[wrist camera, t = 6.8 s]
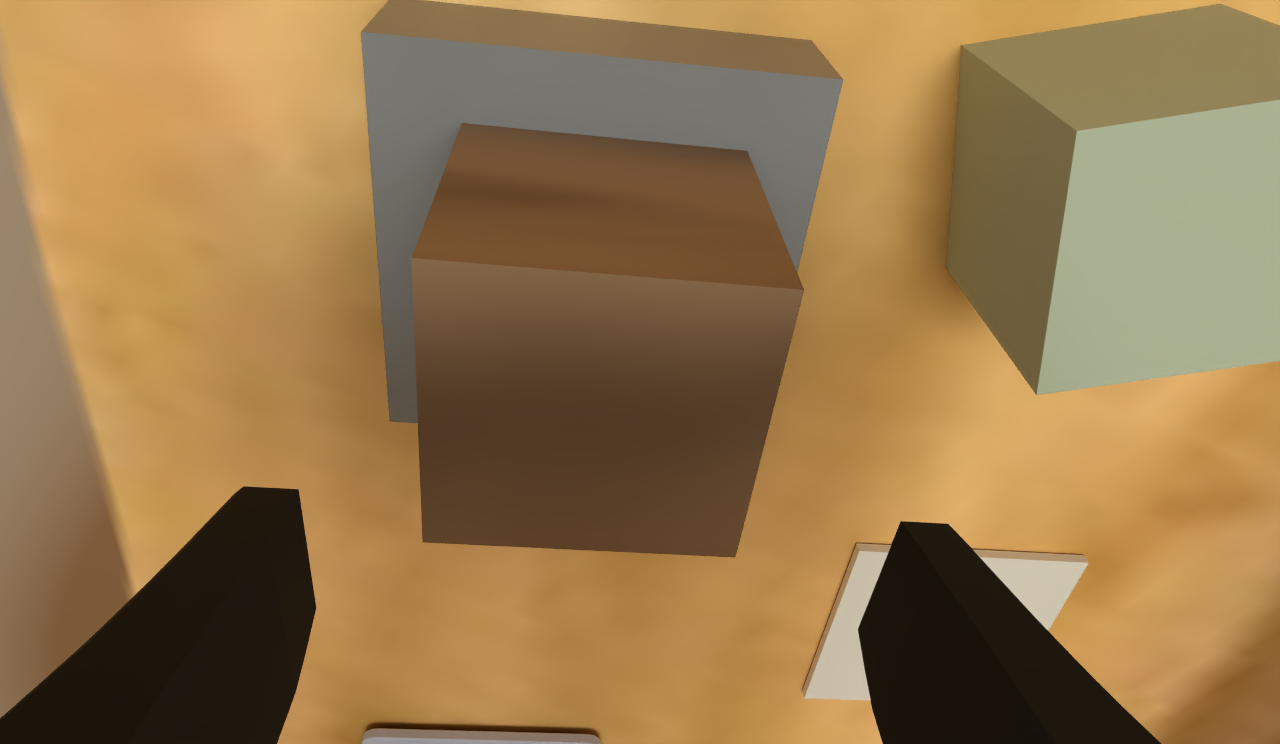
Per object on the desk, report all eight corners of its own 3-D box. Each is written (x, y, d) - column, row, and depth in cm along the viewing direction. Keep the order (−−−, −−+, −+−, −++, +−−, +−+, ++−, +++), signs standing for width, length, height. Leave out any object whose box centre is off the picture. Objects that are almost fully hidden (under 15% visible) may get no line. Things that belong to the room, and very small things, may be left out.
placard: (1000, 696, 29) (1006, 709, 29) (802, 690, 29) (805, 703, 28) (1083, 555, 26) (1092, 568, 25) (856, 543, 25) (861, 556, 24)
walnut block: (703, 379, 18) (735, 558, 14) (462, 362, 18) (422, 542, 13) (746, 150, 15) (804, 290, 11) (462, 122, 15) (411, 258, 11)
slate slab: (737, 365, 22) (756, 441, 19) (413, 344, 21) (389, 421, 18) (807, 35, 17) (842, 79, 15) (396, -8, 16) (360, 32, 14)
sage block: (1164, 233, 20) (1316, 355, 15) (944, 266, 20) (1036, 394, 16) (1217, 3, 17) (1420, 77, 13) (960, 43, 17) (1077, 131, 13)
